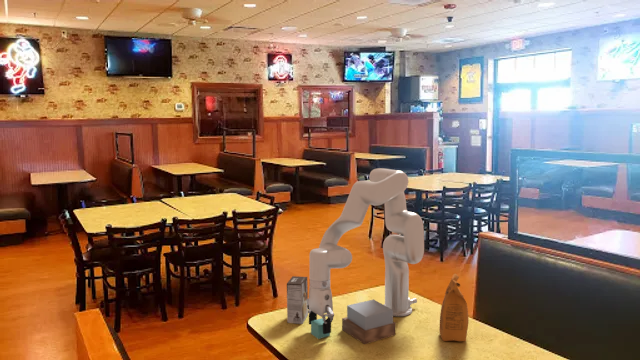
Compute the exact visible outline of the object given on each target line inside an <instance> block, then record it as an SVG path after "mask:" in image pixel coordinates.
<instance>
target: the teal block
mask: <svg viewBox="0 0 640 360" xmlns="http://www.w3.org/2000/svg"><path fill="white" fill-rule="evenodd" d="M323 323H324V321H323V318H322V317H320V318H317V320H314V321H311V325H310V334H311V335H312V336H313V337H315V338H316V339H318V340H320V339H323V338H327V337H330V336H331V333H327V334H323Z"/></svg>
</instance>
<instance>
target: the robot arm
mask: <svg viewBox="0 0 640 360" xmlns="http://www.w3.org/2000/svg"><path fill="white" fill-rule="evenodd" d="M408 185H409V176H408V175H407V173H405V172H404V171H402V170H400V169H399V170H397V169H390V168H383V167H382V168H380V167H379V168H374V169H372V170H371V171H370V173H369V180H359V181H358V180H357V181H355V183H354V184H353V185H352V186H351V190H350V192H349V194H348V197H347V199H346V202H345V204H344V207H343V210H342V212H341V214H340V216H339V217H338V218H336V220H335V221H334V222H332V224H331V225H329V226H328V228H327V229H326V230H325V232H324V233H323V236H322V238H321V241H320V243H319V246H318V248H313V249H311V250H310V252H309V289H308V299H307V300H306V301H307V307H308V325H310V326H311V321H314V320H317V319H318V316H319V317H320V318H323V321H324V323H323V334H327V333H330V334H331V332H332V323H333V321H334V317H335V313H334V308H333V307H334V306H333V305H334V302H333V294H332V289H331V269H344V268H347V267H348V266H349V265H351V263H352V261H353V254H352V253H351V251H350V250H349V249H347V248H346V247H344V246H340V245H338V243H339V241H340V239H341V238H342V236H343V235H344V234H345V233H347V232H349V231H350V230H354V229H356V228H359V227H361V226H362V224H363V223H364V220H365V217H366V215H367V212H368V209H369V207H370V205H372V206H374V207H375V206H381V205H383V204H384V220H385V227H386V229H387V230H388V231H390V232H392V233H394V234H389V235H388V236H387V237H385V239H384V241H383V243H382V252H383V257H384V266H385V267H384V268H385V269H384V270H385V271H384V304H383V305H385V306H386V307H388V308H390V309H392V310H393V317H405V316H409V315H411V314H412V313H413V308H412V307H411V305H412V304H417V303H418V299H417V298H416V297H413V298H410V297H409V288H410V287H409V285H410V284H409V281H410V276H409V275H410V269H409V264H411V265H415V264H418V263H420V262H421V261H422V259H423V257H424V255H425V254H424V253H425V235H424V233H425V232H424V222H423V220H422V217H421V216H420V215H419V214H418V213H416V212H412V211H408V209H407V199H406V195H405V194H406V193H405V190H406V189H407V188H408ZM326 317H327V318H326Z"/></svg>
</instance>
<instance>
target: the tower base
mask: <svg viewBox="0 0 640 360" xmlns="http://www.w3.org/2000/svg"><path fill="white" fill-rule="evenodd" d="M341 322H342V323H341V326H342V327H341V331H343V332H345V333H346V334H347V335H349V336H350V337H352V338H354V339H356V340H357V341H359V342H361V343H362V344H363V345H367V344H370V343H373V342H374V343H375V342H377V341H380V340H383V339H386V338H389V337H393V336H396V333H397V332H396V327H397V325H396V322H395V321H393V323H392V324H388V325H384V326H380V327H377V328H373V329H369V330H364V329H363V328H361V327H360V326H358V325H357V324H355V323H354V322H352V321H351V320H349V319H347V316H345V317H342V318H341Z"/></svg>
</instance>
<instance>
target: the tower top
mask: <svg viewBox="0 0 640 360" xmlns="http://www.w3.org/2000/svg"><path fill="white" fill-rule="evenodd" d="M346 308H347V310H346V314H347V315H346V317H347V319H349V320H351V321H352V322H354V323H355V324H357V325H358V326H360V327H361V328H363V329H364V330H369V329H373V328H377V327H380V326H384V325H388V324H392V323H393V322H394V316H393V310H392V309H390V308H388V307H386V306H385V305H384V304H382V303H381V302H379V301H377V300H375V299H369V300H365V301H360V302H356V303H351V304H348V305H347V306H346Z"/></svg>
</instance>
